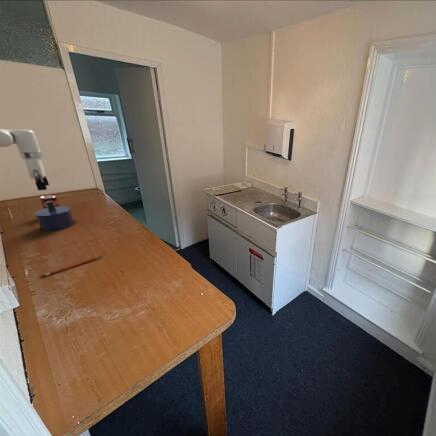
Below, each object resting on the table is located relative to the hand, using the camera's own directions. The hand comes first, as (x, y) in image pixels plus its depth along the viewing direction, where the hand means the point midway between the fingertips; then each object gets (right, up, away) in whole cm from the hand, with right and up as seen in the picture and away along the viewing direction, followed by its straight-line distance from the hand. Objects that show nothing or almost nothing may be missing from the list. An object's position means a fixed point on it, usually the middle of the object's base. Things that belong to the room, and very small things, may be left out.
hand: (43, 187), depth 125 cm
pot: (-1, -21, +9) cm, 23 cm away
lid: (-1, -13, +6) cm, 14 cm away
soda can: (-17, -15, +22) cm, 31 cm away
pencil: (+40, -38, -25) cm, 60 cm away
